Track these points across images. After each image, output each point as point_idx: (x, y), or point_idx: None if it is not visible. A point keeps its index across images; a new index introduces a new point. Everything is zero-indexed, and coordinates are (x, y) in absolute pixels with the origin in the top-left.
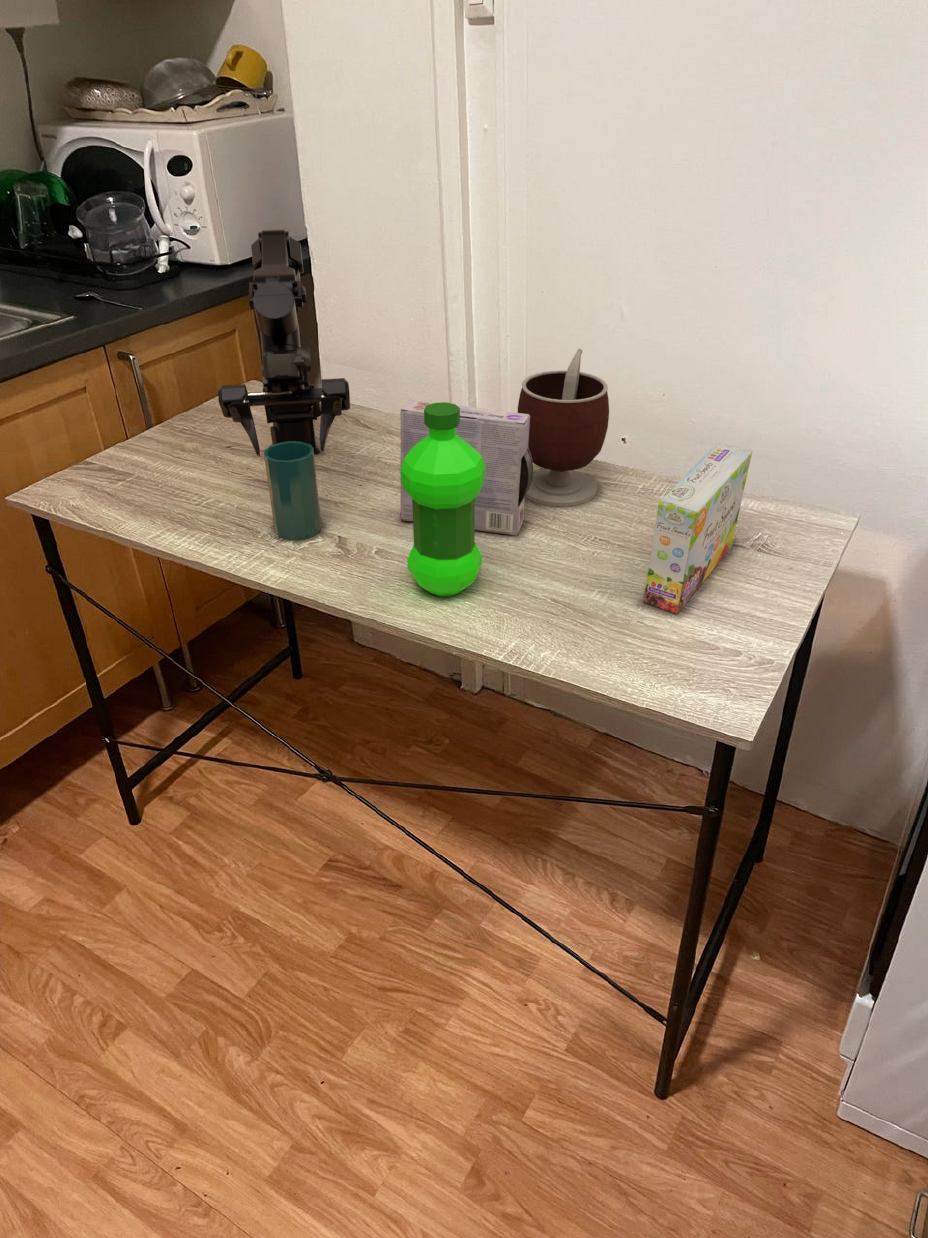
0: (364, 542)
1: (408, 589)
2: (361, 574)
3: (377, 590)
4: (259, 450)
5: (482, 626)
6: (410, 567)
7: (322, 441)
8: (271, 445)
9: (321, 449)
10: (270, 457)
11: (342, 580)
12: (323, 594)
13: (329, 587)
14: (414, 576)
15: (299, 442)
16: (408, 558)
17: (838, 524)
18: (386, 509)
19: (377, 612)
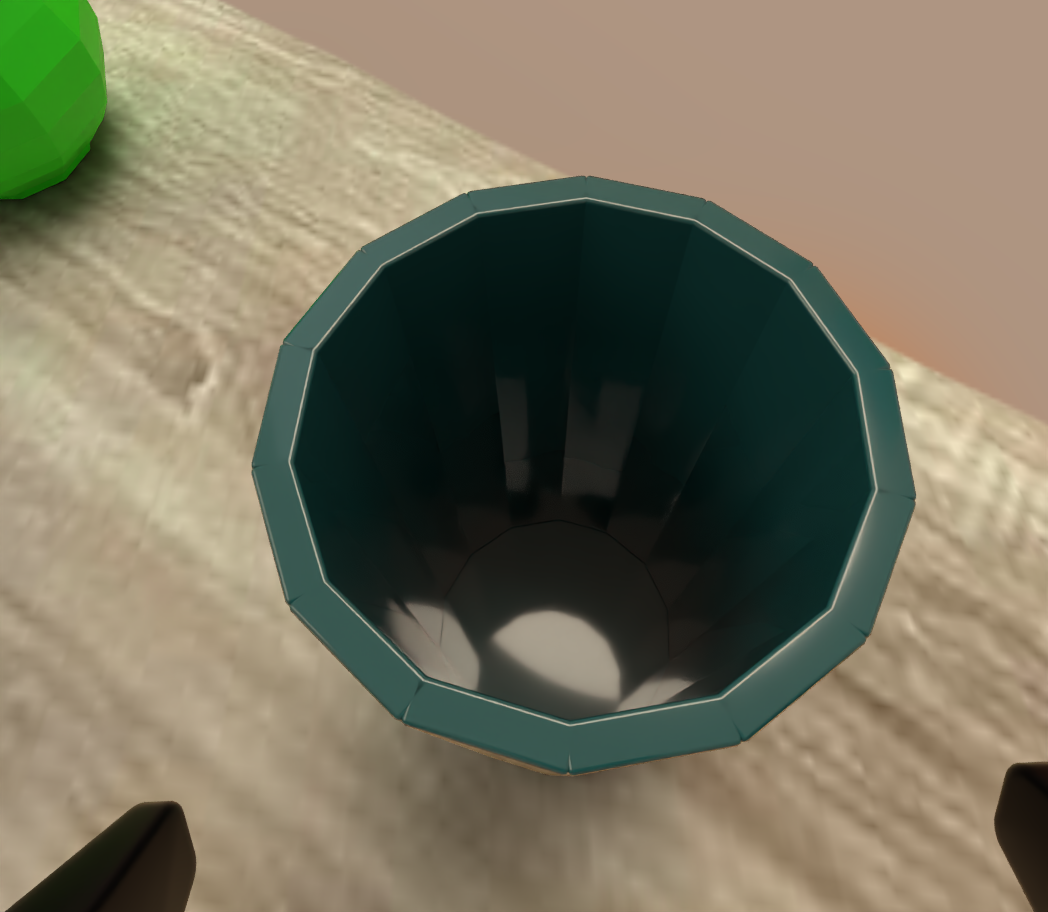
0: (233, 460)
1: (152, 145)
2: (294, 236)
3: (257, 148)
4: (1044, 893)
5: None
6: (89, 34)
7: (81, 875)
8: (863, 634)
9: (171, 803)
10: (785, 280)
11: (370, 209)
12: (445, 144)
13: (421, 176)
14: (97, 26)
15: (432, 694)
16: (71, 26)
17: None
18: (15, 822)
19: (283, 57)
